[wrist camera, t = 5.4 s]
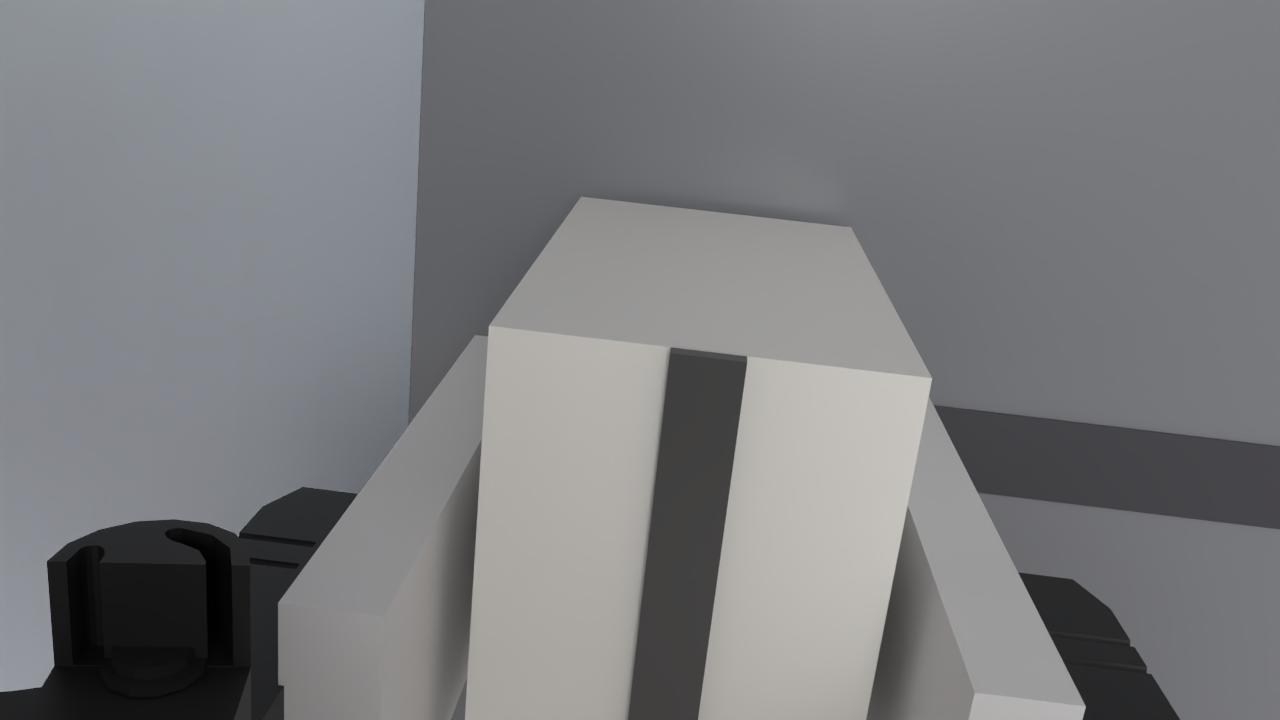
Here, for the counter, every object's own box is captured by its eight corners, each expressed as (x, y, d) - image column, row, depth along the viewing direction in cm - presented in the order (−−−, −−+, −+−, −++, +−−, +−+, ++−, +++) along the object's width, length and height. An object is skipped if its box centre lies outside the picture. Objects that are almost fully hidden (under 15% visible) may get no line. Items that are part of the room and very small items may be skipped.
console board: (436, 726, 21) (391, 840, 18) (484, -202, 16) (433, -245, 13) (1625, 882, 21) (1772, 1028, 18) (2059, -44, 16) (2366, -52, 13)
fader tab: (546, 601, 16) (448, 935, 11) (581, 196, 15) (484, 331, 9) (785, 632, 16) (818, 987, 11) (850, 227, 14) (936, 384, 9)
